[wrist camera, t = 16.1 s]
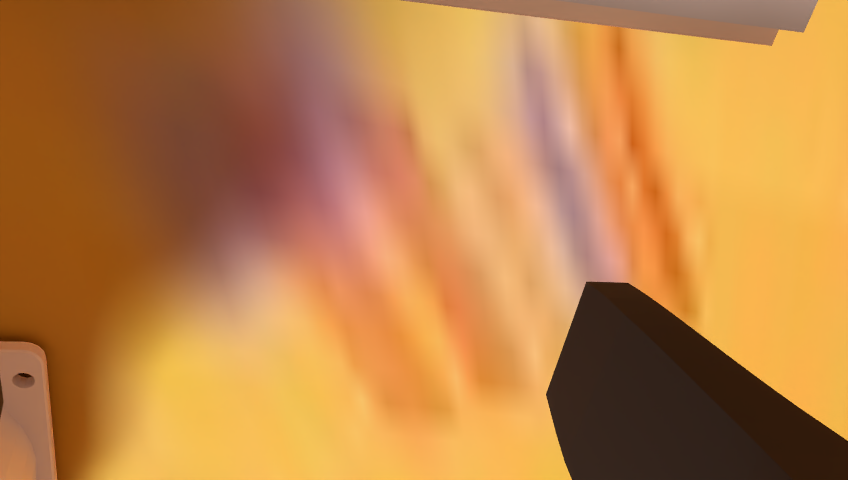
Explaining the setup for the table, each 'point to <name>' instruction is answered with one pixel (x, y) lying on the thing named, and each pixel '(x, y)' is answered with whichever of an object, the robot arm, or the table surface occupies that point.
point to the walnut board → (665, 15)
